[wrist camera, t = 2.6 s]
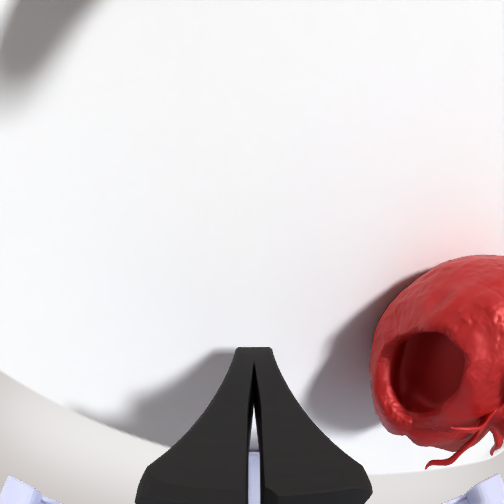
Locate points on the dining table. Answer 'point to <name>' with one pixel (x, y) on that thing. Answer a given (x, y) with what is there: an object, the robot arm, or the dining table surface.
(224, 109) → the dining table surface
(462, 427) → the pomegranate
